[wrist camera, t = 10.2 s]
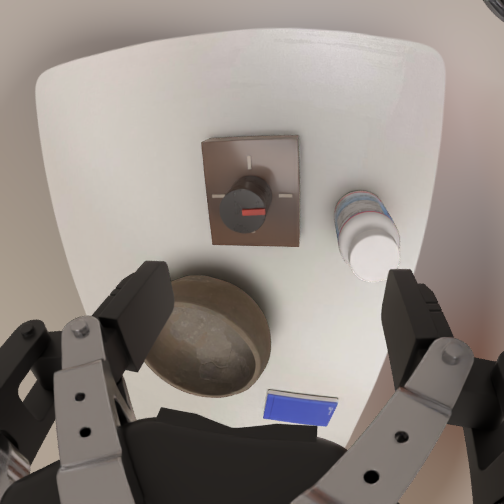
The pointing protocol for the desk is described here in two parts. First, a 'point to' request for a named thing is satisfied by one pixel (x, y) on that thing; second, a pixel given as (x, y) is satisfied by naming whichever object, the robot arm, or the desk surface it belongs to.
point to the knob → (246, 204)
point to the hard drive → (299, 408)
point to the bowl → (211, 339)
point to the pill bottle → (367, 236)
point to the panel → (265, 167)
